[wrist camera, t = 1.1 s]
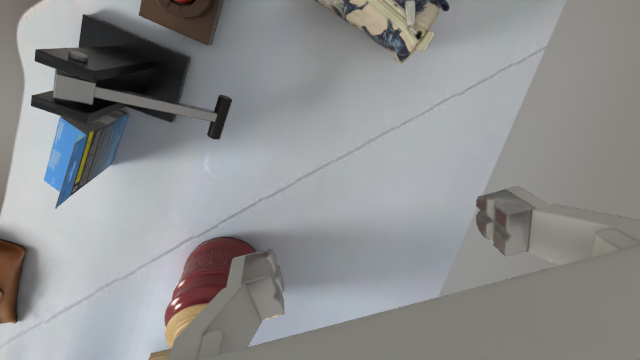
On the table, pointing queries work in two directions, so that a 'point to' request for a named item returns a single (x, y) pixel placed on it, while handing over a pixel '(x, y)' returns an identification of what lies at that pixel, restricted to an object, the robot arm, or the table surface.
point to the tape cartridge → (82, 152)
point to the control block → (185, 16)
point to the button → (183, 1)
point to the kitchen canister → (201, 282)
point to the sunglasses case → (9, 279)
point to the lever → (138, 100)
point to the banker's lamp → (160, 355)
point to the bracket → (114, 71)
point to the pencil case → (392, 22)
